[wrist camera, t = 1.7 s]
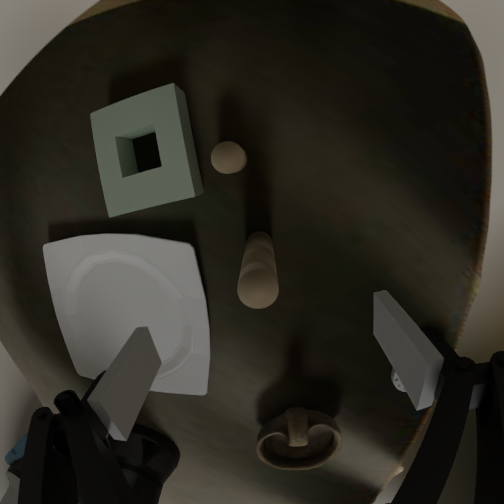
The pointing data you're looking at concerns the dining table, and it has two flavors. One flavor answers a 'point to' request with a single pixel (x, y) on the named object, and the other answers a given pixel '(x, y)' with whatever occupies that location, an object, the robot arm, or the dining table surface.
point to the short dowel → (228, 157)
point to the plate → (131, 304)
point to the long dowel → (258, 272)
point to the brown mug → (299, 440)
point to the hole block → (123, 156)
